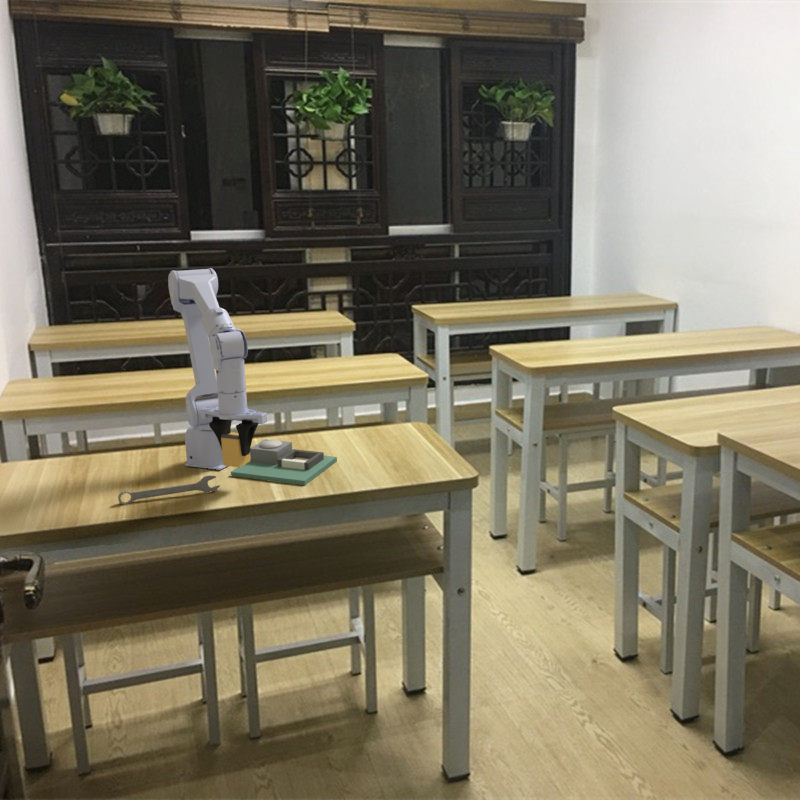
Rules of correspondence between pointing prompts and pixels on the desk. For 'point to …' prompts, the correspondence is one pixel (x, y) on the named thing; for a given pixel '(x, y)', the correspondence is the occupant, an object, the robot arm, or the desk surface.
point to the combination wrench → (170, 490)
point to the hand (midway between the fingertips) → (236, 453)
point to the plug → (233, 450)
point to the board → (283, 463)
